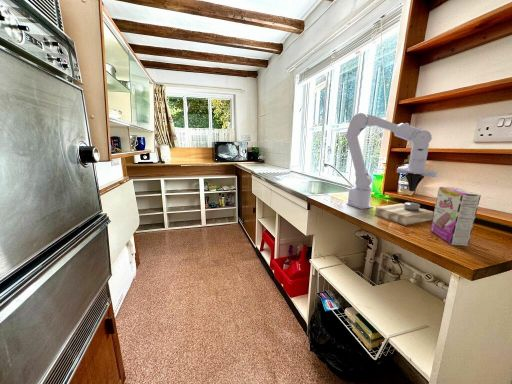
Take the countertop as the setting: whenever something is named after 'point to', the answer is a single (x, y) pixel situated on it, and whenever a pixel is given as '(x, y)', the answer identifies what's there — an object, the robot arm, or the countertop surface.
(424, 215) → the board
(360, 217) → the countertop surface
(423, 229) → the countertop surface
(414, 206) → the peg
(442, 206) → the candy bar box
